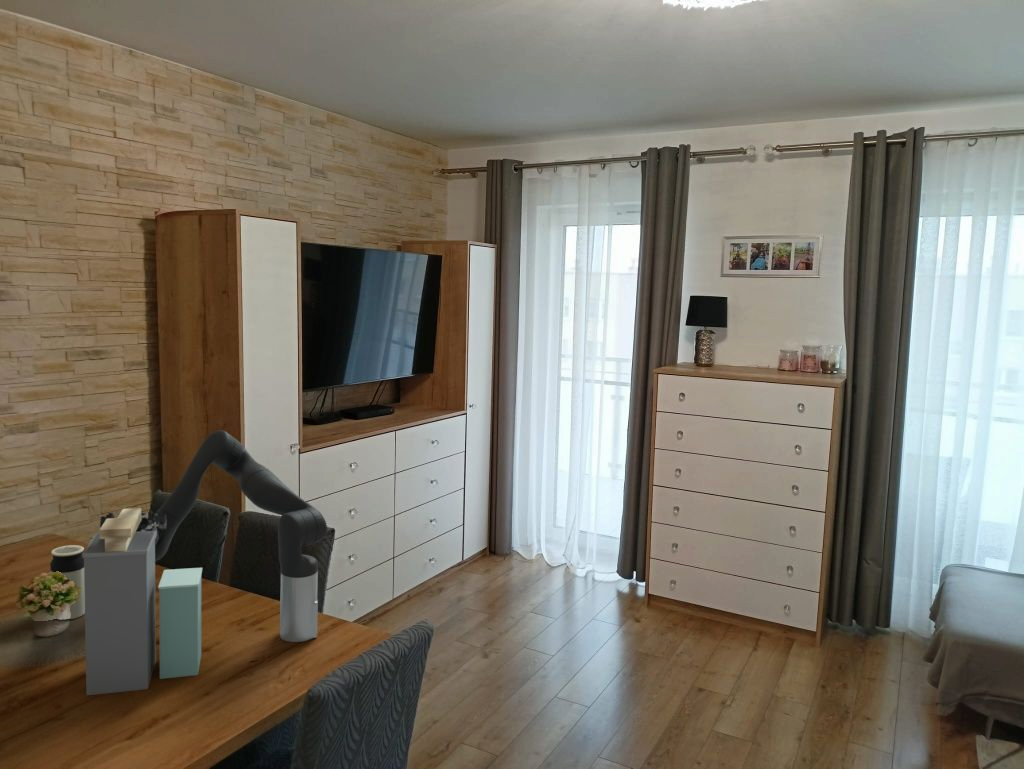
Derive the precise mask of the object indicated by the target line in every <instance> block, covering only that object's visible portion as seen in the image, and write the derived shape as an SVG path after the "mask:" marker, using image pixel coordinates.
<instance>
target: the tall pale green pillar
mask: <svg viewBox="0 0 1024 769" xmlns="http://www.w3.org/2000/svg"><path fill="white" fill-rule="evenodd" d="M202 573H203V567H191V568H190V567H189V568H175V569H164V570H163V573H162V575H161V578H160V581H159V583H158V586H157V590H158V591H159V592H158V594H159V597H158V598H159V608H158V609H159V614H158V616H159V618H158V619H159V680H160V679H161V680H162V679H172V678H181V677H183V678H184V677H191V676H198V675H199V669H200V663H201V658H202Z"/></svg>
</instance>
